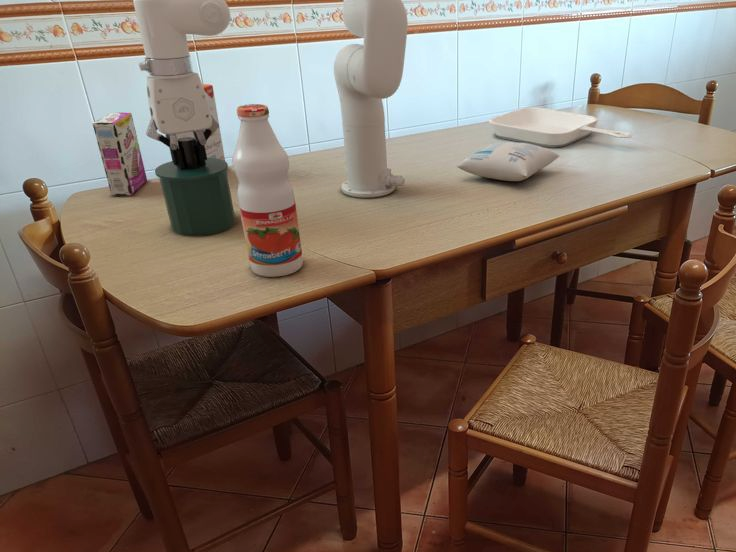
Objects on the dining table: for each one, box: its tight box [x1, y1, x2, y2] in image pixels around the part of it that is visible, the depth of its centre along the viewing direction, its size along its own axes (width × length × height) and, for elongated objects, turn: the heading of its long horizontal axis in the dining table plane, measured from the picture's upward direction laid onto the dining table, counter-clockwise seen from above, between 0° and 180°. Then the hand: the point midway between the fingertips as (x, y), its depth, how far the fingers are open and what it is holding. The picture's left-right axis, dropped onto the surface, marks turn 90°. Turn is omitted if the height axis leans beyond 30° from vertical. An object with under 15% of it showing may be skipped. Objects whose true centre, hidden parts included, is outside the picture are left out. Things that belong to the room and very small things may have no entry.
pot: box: [159, 170, 236, 237], centre depth 135 cm, size 12×12×12 cm
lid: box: [154, 137, 229, 181], centre depth 130 cm, size 14×14×7 cm
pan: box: [488, 106, 633, 148], centre depth 197 cm, size 27×42×5 cm, turn 54°
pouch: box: [455, 141, 561, 182], centre depth 165 cm, size 8×19×20 cm
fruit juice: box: [231, 103, 304, 278], centre depth 113 cm, size 9×9×28 cm
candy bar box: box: [92, 112, 148, 197], centre depth 152 cm, size 11×5×16 cm, turn 5°
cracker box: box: [176, 83, 226, 162], centre depth 159 cm, size 14×6×21 cm, turn 168°
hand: (191, 165), depth 131 cm, fingers open, 3 cm apart
